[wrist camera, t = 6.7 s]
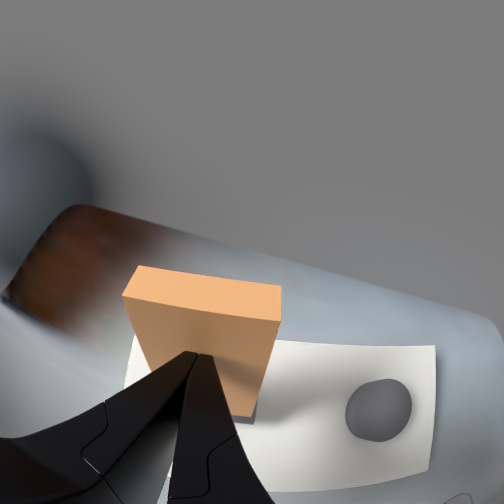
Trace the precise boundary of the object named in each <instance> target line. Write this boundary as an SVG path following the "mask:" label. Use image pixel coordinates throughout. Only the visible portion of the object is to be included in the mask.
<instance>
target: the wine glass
mask: <svg viewBox="0 0 504 504" xmlns="http://www.w3.org/2000/svg"><path fill="white" fill-rule="evenodd" d="M445 504H473V500H472V497H471V496H470V495H468V494H461V495H458V496H456V497H454V498H452V499H450V500H449V501H447V502H446V503H445Z"/></svg>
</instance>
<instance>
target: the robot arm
mask: <svg viewBox="0 0 504 504" xmlns="http://www.w3.org/2000/svg"><path fill="white" fill-rule="evenodd" d="M172 462H173V464H172ZM171 465H172V470H171V477H170V484H169V492H168V501H167V504H275V503H274V501H273V500H272V499H271V497H270V495H269V494H268V492H267V491H266V489H265V488H264V486H263V485H262V483H261V481H260V480H259V478H258V477H257V475H256V473H255V471H254V469H253V468H252V466H251V464H250V462H249V460H248V458H247V455H246V453H245V451H244V448H243V446H242V443H241V440H240V438H239V435H238V433H237V430H236V427H235V424H234V421H233V418H232V415H231V412H230V409H229V406H228V403H227V400H226V397H225V394H224V391H223V387H222V384H221V381H220V378H219V374H218V371H217V368H216V364H215V361H214V358H213V356H212V355H208V354H203V353H200V354H199V355H198V353H197V352H191V351H183V352H182V353H180V354H179V355H177V356H176V357H174V358H173V359H171V360H170V361H168V362H167V363H165V364H163V365H162V366H160V367H159V368H157V369H156V370H154V371H152V372H151V373H149V374H148V375H146V376H145V377H143V378H141V379H140V380H138V381H137V382H135V383H133V384H132V385H130V386H128V387H127V388H125V389H123V390H122V391H120V392H119V393H117V394H115V395H114V396H112V397H110V398H109V399H107V400H105V403H104V402H102V403H100V404H98V405H96V406H95V407H93V408H91V409H89V410H87V411H86V412H84V413H82V414H80V415H78V416H76V417H73V418H71V419H69V420H67V421H64V422H62V423H60V424H57V425H54V426H52V427H49V428H47V429H44V430H41V431H39V432H36V433H33V434H30V435H27V436H24V437H20V438H2V437H0V504H157V501H158V498H159V496H160V493H161V491H162V488H163V485H164V483H165V480H166V478H167V475H168V472H169V470H170V467H171Z"/></svg>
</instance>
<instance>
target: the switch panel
mask: <svg viewBox="0 0 504 504" xmlns="http://www.w3.org/2000/svg"><path fill="white" fill-rule="evenodd" d="M149 373H151V370H150V368H149V366H148V363H147V361H146V359H145V356H144V354H143V352H142V349H141V347H140V344H139V342H138V339H137V337H136V334H135V335H134V340H133V344H132V349H131V353H130V358H129V363H128V367H127V373H126V378H125V383H124V389H125V388H127V387H128V386H130V385H132V384H133V383H135V382H137V381H138V380H140V379H141V378H143V377H145V376H146V375H148V374H149ZM382 379H394V380H397V381H399V382H401V383H402V384H403V385H404V386H405V387H406V388H407V389H408V391H409V393H410V396H411V400H412V411H411V416H410V418H409V421H408V423H407V425H406V426H405V428H404V429H403V430H402V431H401V432H400V433H399V434H398V435H397V436H396V437H394V438H392V439H390V440H388V441H384V442H373V441H369V440H364V439H360V438H358V437H356V436H355V435H353V434H352V433H351V431H350V430H349V428H348V427H347V424H346V420H345V410H346V406H347V403H348V400H349V399H350V397H351V395H352V394H353V393H354V392H355V390H357V389H358V388H359V387H360V386H362V385H363V384H365V383H368V382H372V381H377V380H382ZM435 396H436V360H435V345H431V346H357V345H335V344H319V343H306V342H294V341H283V340H275V343H274V346H273V349H272V353H271V356H270V359H269V363H268V366H267V369H266V372H265V376H264V379H263V382H262V385H261V388H260V391H259V395H258V398H257V410H256V417H255V422H254V425H250V424H241V423H234V424H235V427H236V430H237V433H238V435H239V438H240V440H241V443H242V446H243V448H244V451H245V453H246V455H247V458H248V460H249V462H250V464H251V466H252V468H253V469H254V471H255V473H256V475H257V477H258V478H259V480H260V481H261V483H262V485H263V486H264V488H265V489H266V491H267V492H312V491H327V490H338V489H346V488H354V487H361V486H367V485H372V484H378V483H383V482H387V481H392V480H396V479H400V478H404V477H408V476H412V475H415V474H419V473H422V472H425V471H428V465H429V459H430V453H431V446H432V438H433V428H434V416H435ZM172 464H173V462H172ZM171 470H172V465H171V467H170V470H169V472H168V475H167V477H171Z"/></svg>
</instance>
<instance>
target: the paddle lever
mask: <svg viewBox="0 0 504 504" xmlns="http://www.w3.org/2000/svg"><path fill="white" fill-rule="evenodd" d="M122 297H123V301H124V303H125V306H126V309H127V312H128V315H129V318H130V321H131V323H132V326H133V329H134V331H135V334H136V337H137V339H138V342H139V344H140V347H141V349H142V352H143V354H144V356H145V359H146V361H147V363H148V366H149V368H150V370H151V372H152V371H154V370H156V369H157V368H159V367H160V366H162V365H163V364H165V363H167V362H168V361H170V360H171V359H173V358H174V357H176V356H177V355H179V354H180V353H182V352H183V351H191V352H197V353H198V355H199V354H200V353H203V354H208V355H212V356H213V358H214V361H215V364H216V368H217V371H218V374H219V378H220V381H221V384H222V387H223V391H224V394H225V397H226V400H227V403H228V406H229V409H230V412H231V415H232V418H233V421H234V423H241V424H250V425H254V422H255V417H256V410H257V398H258V395H259V391H260V388H261V385H262V382H263V379H264V376H265V372H266V369H267V366H268V363H269V359H270V356H271V353H272V349H273V346H274V343H275V339H276V336H277V332H278V329H279V325H280V322H281V286H277V285H269V284H261V283H254V282H246V281H239V280H231V279H224V278H217V277H210V276H203V275H196V274H190V273H183V272H176V271H170V270H164V269H157V268H151V267H145V266H138V268H137V270H136V271H135V273H134V275H133V276H132V278H131V280H130V282H129V283H128V285H127V287H126V289H125V291H124V292H123V294H122Z"/></svg>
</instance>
